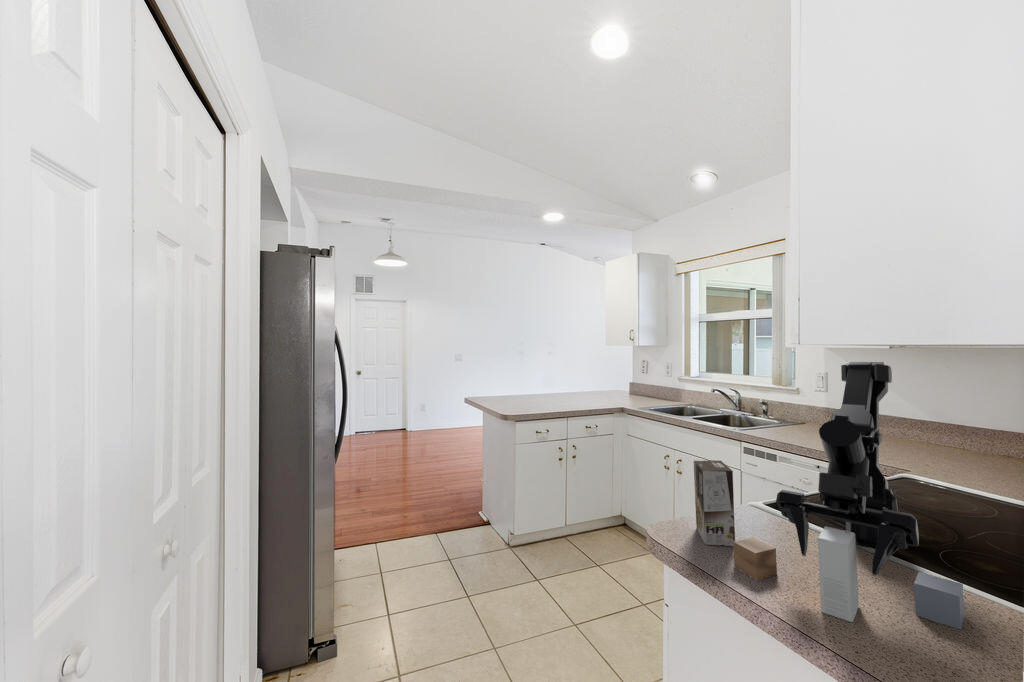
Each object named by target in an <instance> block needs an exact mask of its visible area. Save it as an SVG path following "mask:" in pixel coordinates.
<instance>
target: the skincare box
mask: <svg viewBox="0 0 1024 682" xmlns="http://www.w3.org/2000/svg"><path fill="white" fill-rule="evenodd" d="M817 551H818V552H817V553H818V572H819V573H818V574H819V589H820V590H819V593H820V610H821V613H823V614H826V615H830V616H832V617H835V618H838V619H841V620H844V621H847V622H849V623H854V621H855V618H856V615H857V613H858V608H859V606H860V599H859V598H860V597H859V582H858V581H859V580H858V562H857V561H858V560H857V543H856V539H855V533H853V532H848V531H846V530H843V529H839V528H835V527H830V526H824V527H823V528H822V530H821V532H820V534H819V535H818V537H817Z"/></svg>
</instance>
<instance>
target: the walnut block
mask: <svg viewBox="0 0 1024 682" xmlns="http://www.w3.org/2000/svg"><path fill="white" fill-rule="evenodd" d="M733 544H734V546H733V563H734V564H733V565H734V566H733V567H734V568H735V567H736V568H737V569H736V568H735V569H736V570H738V569H739V570H738V571H740V570H741V571H742V572H741V571H740V572H741V573H743V572H744V573H743V574H745V575H747V576H748V575H749V576H748V577H750V576H751V577H750V578H752V577H753V578H752V579H754V580H755V579H756V580H755V581H759V580H763V579H767V578H770V576H771V577H774V576H777V575H778V570H777V569H778V567H777V547H774V546H772V545H770V544H768V543H766V542H764V541H761V540H760V539H757V538H755V537H749V538H744V539H740V540H735V542H733ZM766 577H767V578H766ZM762 578H763V579H762ZM758 579H759V580H758Z"/></svg>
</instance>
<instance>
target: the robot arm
mask: <svg viewBox="0 0 1024 682" xmlns="http://www.w3.org/2000/svg"><path fill="white" fill-rule="evenodd" d="M840 368H841V370H840V371H841V381H842V382H845V385H844V391H843V397H842V403H841V408H839V409H837V410H835V411H834V412H833V413H831V417H830V420H828V421H826V422H824V423H823V424H822V425H821V426H820V427H819V430H818V435H819V437H820V440H821V445H822V446H823V450H824V454H825V456H826V458H827V459H828V467H827V472H819V474H818V493H819V499H820V501H822V504H820V503H819V504H818V503H814V502H809V501H807V498H806V496H805V493H802V492H797V491H791V490H787V489H782V490H779V491H778V493H777V494H776V500H775V503H776V504H777V507H778V509H779V511H780V513H781V515H782V516H783V517H785V518H787V520H788V521H789V523H792V524H794V525H795V528H796V533H797V538H798V542H799V547H800V552H801V553H800V554H801V555H802V557H803V556H804V557H806V555H807V552H808V544H809V542H808V541H809V530H810V523H809V521H808V519H809V515H814V516H818V517H823V518H827V519H832V520H838V521H841V522H845V531H848V532H853V533H855V539H856V545H858V546H864V547H875V549H874V554H873V559H872V566H871V572H872V573H871V574H872V576H877V575H878V574H879V573H880V571H881V569H882V568H883V567H884V565H886V564H885V563H886V562H887V561H888V559H890V557H891V556H893V554H894V553H896V551H898V550H899V549H903V550H906V549H908V546H910V547H913V548H914V547H919V546H920V545H919V544H920V543H919V541H920V540H919V539H920V537H919V527H918V521H917V518H916V517H915V516H914V515H913V513H910V512H904V511H899V509H898V502H897V497H896V496H895V495H894V493H893V490H892V488H889V482H888V480H887V479H886V477H885V475H884V474H883V473H882V470H881V469H880V468H879V465H880V464H879V458H880V457H879V456H880V455H879V453H880V451H879V450H880V444H881V443H882V441H883V435H882V434H881V433H880V429H879V427H880V423H879V422H880V417H879V416H880V413H879V412H880V402H881V401H882V399H883V398H884V397H885V396H886V395H887V393H888V392H889V384H890V383H892V380H893V375H892V373H893V371H892V367H891V366H890V365H888V364H885V363H884V361H850V362H849V363H845V364H841V367H840Z"/></svg>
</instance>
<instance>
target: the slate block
mask: <svg viewBox="0 0 1024 682" xmlns="http://www.w3.org/2000/svg"><path fill="white" fill-rule="evenodd" d="M913 589H914V591H913V592H914V614H916V616H918V617H922V618H924V619H927V620H930V621H934V622H936V621H937V622H936V623H939V622H940V624H942V623H943V625H945V624H946V626H948V625H949V626H948V627H951V628H954V629H958V630H962V628H963V623H964V618H965V605H964V604H965V601H964V584H963V583H961V582H958V581H953V580H949V579H947V578H944V577H943V578H942V577H940V576H936V575H933V574H928V573H925V572H923V571H918V573H917V575H916V578H915V580H914V582H913Z"/></svg>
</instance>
